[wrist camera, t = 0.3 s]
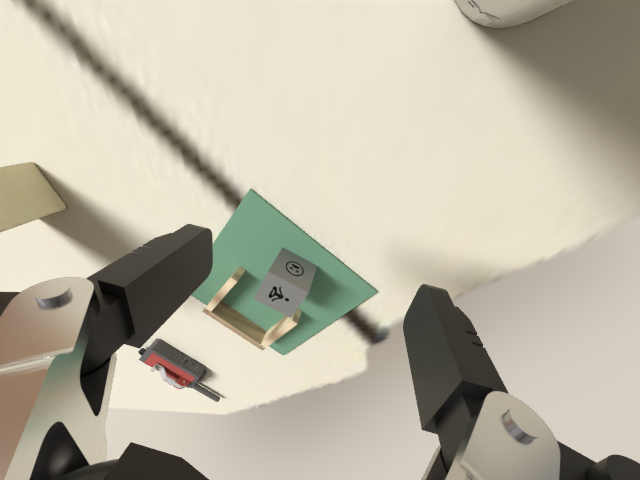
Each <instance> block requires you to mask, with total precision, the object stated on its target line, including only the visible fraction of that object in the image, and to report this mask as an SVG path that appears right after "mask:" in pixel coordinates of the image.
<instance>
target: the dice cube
mask: <svg viewBox="0 0 640 480" xmlns="http://www.w3.org/2000/svg"><path fill="white" fill-rule="evenodd" d="M316 269H317V265H315V264H313V263H311V262H309V261H307V260H306V259H304V258H302V257H300V256H298V255H296V254H294V253H293V252H291V251H289V250H287V249H285V248H283V247H282V249H281V250H280V252H279V254H278V255H277V257H276V259H275V260H274V262H273V264H272V266H271V267H270V269H269V271H268V272H267V274H266V276H265V278H264V280H263V282H262V284H261V286H260V288H259V289H258V291H257V293H256V295H255V297H254V300H256V301H258V302H260V303H262V304H264V305H266V306H268V307H270V308H272V309H274V310H276V311H278V312H280V313H282V314H284V315H286V316H288V317H290V318H291V317H292V316H293V314H294V313H295V311H296V310H297V309H298V307H299V306H300V304H301V303H302V302H303V300H304V299H305V297H306V296H307V295H308V293H309V291H310V287H311V284H312V281H313V278H314V275H315V272H316Z"/></svg>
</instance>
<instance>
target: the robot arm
mask: <svg viewBox="0 0 640 480" xmlns="http://www.w3.org/2000/svg"><path fill="white" fill-rule="evenodd" d="M455 1H456V3H457V4H458V6H459V8H460V9H461V11H462V12H463V13H464V14H465V15H466V16H467V17H468V18H469V19H471V20H472V21H474V22H476V23H478V24H480V25H482V26H486V27H492V28H505V27H513V26H516V25H520V24H523V23H526V22H529V21H531V20H533V19H535V18H537V17H539V16H541V15H543V14H545V13H548V12H550V11H552V10H554V9H556V8H558V7H560V6H562V5H564V4H567V3H569V2H571V1H573V0H455ZM212 266H213V246H212V232H211V230H210V229H208V228H204V227H200V226H196V225H192V224H187V225H185V226H184V227H182V228H180V229H179V230H177V231H175V232H174V233H170V234H166V235H163V236H160V237H157V238H154V239H153V240H151V241H149V242H148V243H146V244H144V245H143V247H139V248H137V249H136V250H134V251H132V253H131V254H130V253H129V254H127V255H125V256H124V257H122V258H120V259H119V260H117V261H115V262H114V263H112V264H110V265H108V266H107V267H105V268H103V269H102V270H100V271H98V272H96V273H95V274H93V275H91V276H90V277H88V278H86V279H85V278H80V277H63V278H57V279H52V280H48V281H45V282H41V283H39V284H36V285H34V286H31V287H29V288H27V289H25V290H24V291H22V292H0V480H209V479H207V478H206V477H205V476H204V475H203V474H201V473H200V472H199V471H198V470H196V469H195V468H194V467H193V466H192V465H190V464H189V463H188V462H187V461H185V460H184V459H183V458H181V457H178V456H175V455H171V454H168V453H165V452H162V451H158V450H155V449H151V448H148V447H145V446H142V445H138V444H135V443H132V442H131V443H130V444H129V446H128V447H127V448H126V450H125V451H124V453H123V454H122V456H121V457H120V458H119V459H116V460H110V461H106V455H107V444H106V434H105V424H106V416H107V411H108V405H109V399H110V394H111V388H112V382H113V377H114V371H115V365H116V360H117V355H116V351H117V350H118V349H119V348H120V347H121V346H122V345H123V344H126V345H130V346H133V347H137V348H141V347H142V345H143V344H144V343H145V342H146V341H147V340H148V339H149V338H150V337H151V336H152V335H153V334H154V333H155V332H156V331H157V330H158V329H159V328H160V327H161V326H162V325H163V324H164V323H165V322H166V320H167V319H168V318H169V317H170V316H171V315H172V314H173V313H174V312H175V311H176V310H177V309H178V308H179V307H180V306H181V305H182V304H183V303H184V302H185V301H186V300H187V299H188V298H189V297H190V295H191V294H192V293H193V292H194V291H195V290H196V289H197V288H198V287H199V286H200V285H201V284H202V283H203V282H204V281H205V280H206V279H207V278H208V276H209V274H210V272H211V270H212ZM403 330H404V336H405V341H406V347H407V352H408V358H409V363H410V368H411V374H412V379H413V384H414V390H415V395H416V400H417V405H418V410H419V416H420V421H421V427H422V430H425V431H428V432H432V433H435V434H438V437H439V441H440V446H439V447H438V448H437V449H436V451H435V453H434V455H433V457H432V459H431V461H430V463H429V465H428V467H427V469H426V471H425V474H424V475H423V478H422V479H421V480H640V464H639V463H637V462H636V461H634V460H632V459H629V458H627V457H624V456H621V455H611V456H608V457H607V458H605V459H603V460H601V461H600V462H598V463H596V462H594V461H592V460H590V459H589V458H587V457H585V456H583V455H581V454H580V453H578V452H576V451H575V450H573V449H571V448H569V447H567V446H566V445H564V444H562V443H560V442H558V441H557V440H556V438H555V437H554V435H553V433H552V432H551V430H550V429H549V427H548V426H547V424H546V423H545V422H544V421H543V420H542V418H541V417H540V416H539V415H538V414H537V413H536V412H535V411H534V410H532V409H531V408H530V407H529V406H528V405H526V404H525V403H524V402H522V401H521V400H519V399H518V398H516V397H514V396H512V395H510V394H509V393H508V391H507V389H506V387H505V386H504V384H503V382H502V380H501V378H500V376H499V374H498V372H497V370H496V368H495V366H494V365H493V363H492V361H491V359H490V357H489V355H488V353H487V351H486V349H485V348H483V344H482V342H481V340H480V338H479V336H477V332H476V330H475V328H474V326H473V325H472V323H471V321H470V319H469V318H468V317H467V316H466V315H465V314H464V313H463V312H462V311H461V310H460V309H459V308H458V307H455V306H454V305H453V302H452V300H451V298H450V296H449V294H448V292H447V291H446V290H445V289H441V288H437V287H434V286H430V285H426V284H423V285H421V286H420V288H419V289H418V291H417V293H416V295H415V297H414V299H413V301H412V303H411V305H410V307H409V309H408V311H407V313H406V315H405V319H404V324H403Z"/></svg>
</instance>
